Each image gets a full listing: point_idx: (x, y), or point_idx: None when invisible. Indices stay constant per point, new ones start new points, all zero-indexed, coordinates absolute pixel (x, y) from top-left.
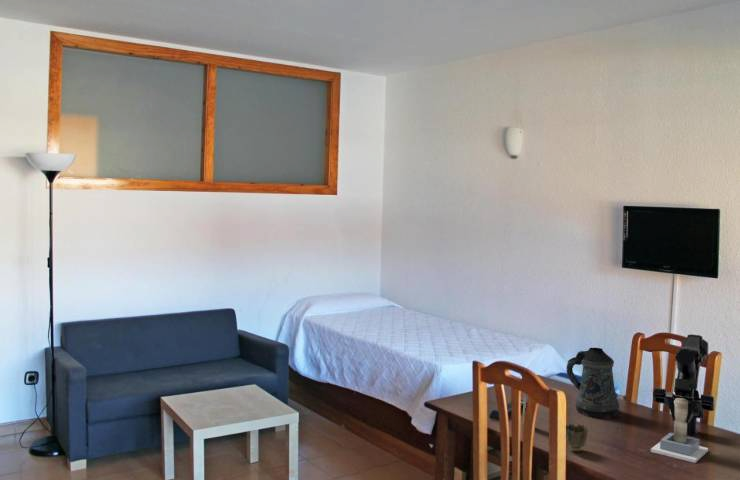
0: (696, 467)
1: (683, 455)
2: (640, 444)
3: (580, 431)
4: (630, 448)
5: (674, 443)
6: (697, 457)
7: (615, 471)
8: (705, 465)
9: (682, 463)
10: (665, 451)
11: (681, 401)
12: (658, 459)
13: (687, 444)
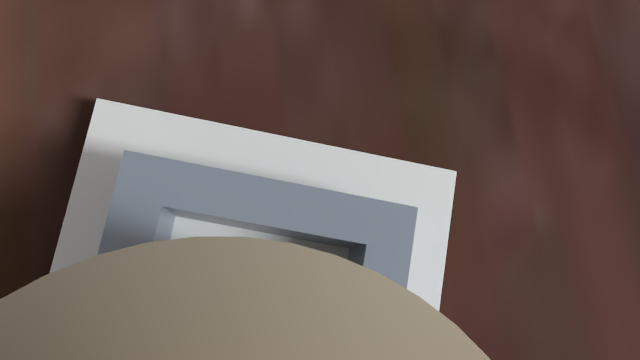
0: (91, 16)
1: (197, 154)
2: (550, 310)
3: None
4: (587, 171)
5: (282, 181)
6: (81, 167)
7: None
8: (23, 93)
9: (197, 48)
10: (343, 171)
11: (184, 268)
12: (367, 44)
13: (158, 214)
